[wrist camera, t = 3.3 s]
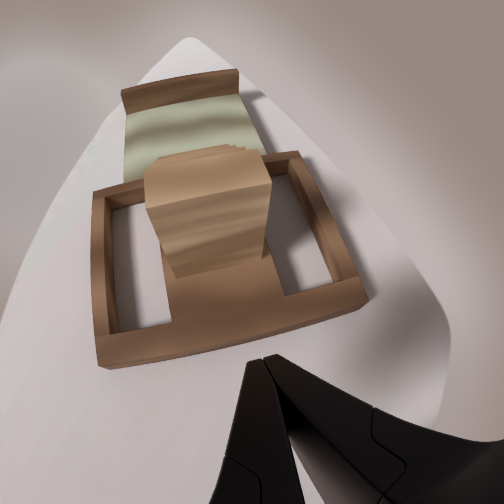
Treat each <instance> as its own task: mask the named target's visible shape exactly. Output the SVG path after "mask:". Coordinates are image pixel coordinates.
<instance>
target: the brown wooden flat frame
mask: <svg viewBox="0 0 504 504" xmlns="http://www.w3.org/2000/svg"><path fill="white" fill-rule="evenodd" d="M121 97H122V101H123V104H124V108H125V111H126V115H127V116H126V130H125V148H124V183H123V184H119V185H116V186H112V187H108V188H105V189H101V190H98V191H94V192H93V200H92V216H91V252H90V260H91V296H92V313H93V325H94V336H95V345H96V353H97V361H98V366H100V367H103V368H106V369H109V370H111V369H118V368H125V367H131V366H137V365H143V364H149V363H155V362H160V361H166V360H171V359H176V358H181V357H186V356H191V355H196V354H200V353H205V352H210V351H214V350H218V349H223V348H227V347H231V346H235V345H240V344H244V343H248V342H252V341H255V340H259V339H263V338H267V337H271V336H274V335H278V334H282V333H285V332H289V331H292V330H296V329H299V328H302V327H306V326H309V325H313V324H316V323H319V322H322V321H326V320H329V319H332V318H335V317H338V316H341V315H344V314H347V313H350V312H353V311H356V310H359V309H360V308H361V307H363V306H364V305H365V304H366V303H367V302H368V301H369V299H368V297H367V294H366V292H365V289H364V287H363V285H362V282H361V280H360V277H359V275H358V273H357V270H356V268H355V266H354V263H353V261H352V259H351V257H350V254H349V252H348V250H347V248H346V245H345V243H344V241H343V239H342V237H341V235H340V232H339V230H338V228H337V226H336V224H335V222H334V220H333V218H332V215H331V213H330V211H329V209H328V207H327V205H326V203H325V201H324V199H323V197H322V195H321V193H320V191H319V189H318V187H317V185H316V183H315V181H314V179H313V178H312V176H311V174H310V172H309V170H308V168H307V166H306V164H305V162H304V161H303V159H302V157H301V155H300V153H299V151H298V150H297V151H289V152H281V153H274V154H267V153H266V151H265V149H264V146H263V144H262V142H261V140H260V138H259V136H258V133H257V131H256V129H255V127H254V125H253V123H252V121H251V118H250V116H249V114H248V112H247V110H246V108H245V106H244V104H243V102H242V100H241V98H240V96H239V71H238V70H237V69H228V70H219V71H212V72H204V73H198V74H192V75H186V76H180V77H175V78H169V79H164V80H160V81H155V82H151V83H146V84H142V85H138V86H134V87H130V88H126V89H122V90H121ZM224 144H229V146H231V145H236V147H244V146H245V148H246V150H251V149H258V150H259V153H260V155H261V157H262V160H263V162H264V164H265V167H266V169H267V171H268V174H269V176H270V177H272V176H278V175H284V174H287V176H288V178H289V180H290V182H291V184H292V186H293V189H294V191H295V193H296V195H297V197H298V200H299V202H300V204H301V206H302V209H303V211H304V213H305V215H306V218H307V220H308V222H309V225H310V227H311V229H312V231H313V234H314V236H315V239H316V241H317V243H318V246H319V248H320V250H321V253H322V255H323V258H324V260H325V263H326V265H327V267H328V270H329V272H330V275H331V277H332V280H333V282H334V283H332V284H328V285H325V286H321V287H318V288H314V289H310V290H307V291H303V292H299V293H296V294H292V295H288V296H285V294H284V291H283V288H282V285H281V282H280V279H279V276H278V273H277V271H276V268H275V265H274V262H273V259H272V256H271V253H270V250H269V247H268V244H267V241H266V238H265V237H264V244H263V251H262V257H261V260H258V261H254V262H249V263H245V264H240V265H236V266H231V267H227V268H223V269H218V270H214V271H209V272H205V273H200V274H196V275H191V276H187V277H182V278H178V279H176V277H175V275H174V273H173V271H172V268H171V266H170V264H169V262H168V260H167V257H166V255H165V253H164V251H163V248H162V246H161V244H160V250H161V257H162V264H163V271H164V278H165V284H166V290H167V296H168V302H169V308H170V313H171V319H172V323H169V324H164V325H159V326H154V327H149V328H144V329H139V330H133V331H128V332H123V333H119V327H118V319H117V309H116V299H115V287H114V272H113V252H112V210H115V209H119V208H123V207H127V206H131V205H135V204H139V203H143V202H145V192H144V173H143V171H144V170H148V169H150V165H151V164H154V161H155V160H157V158H158V157H163V156H167V155H172V154H176V153H181V152H186V151H191V150H196V149H201V148H207V147H212V146H218V145H224Z"/></svg>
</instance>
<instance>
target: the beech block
mask: <svg viewBox="0 0 504 504" xmlns="http://www.w3.org/2000/svg"><path fill="white" fill-rule="evenodd" d="M143 173H144V192H145V207H146V211H147V213H148V216H149V218H150V220H151V223H152V225H153V228H154V230H155V232H156V235H157V237H158V239H159V242H160V244H161V246H162V248H163V251H164V253H165V255H166V257H167V260H168V262H169V264H170V266H171V268H172V271H173V273H174V275H175V277H176V279H178V278H182V277H187V276H191V275H196V274H200V273H205V272H209V271H214V270H218V269H223V268H227V267H231V266H236V265H240V264H245V263H249V262H254V261H258V260H261V257H262V251H263V244H264V237H265V230H266V224H267V217H268V210H269V203H270V196H271V189H272V181H271V178H270V176H269V174H268V171H267V169H266V167H265V164H264V162H263V160H262V157H261V155H260V153H259V150H258V149H251V150H246V148H245V146H244V147H236V145H231V146H229V144H224V145H218V146H212V147H207V148H201V149H196V150H191V151H186V152H181V153H176V154H172V155H167V156H163V157H158V158H157V160H155V161H154V164H151V165H150V169H148V170H144V171H143Z"/></svg>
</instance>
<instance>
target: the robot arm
mask: <svg viewBox="0 0 504 504" xmlns="http://www.w3.org/2000/svg"><path fill="white" fill-rule="evenodd" d="M290 443H291V444H290ZM291 445H292V447H293V449H294V451H295V452H296V454H297V456H298V458H299V460H300V461H301V463H302V465H303V467H304V468H305V470H306V472H307V474H308V475H309V477H310V479H311V481H312V482H313V484H314V486H315V487H316V489H317V491H318V493H319V494H320V496H321V498H322V499H323V501H324V503H325V504H504V439H503V440H499V441H492V442H478V441H471V440H467V439H462V438H458V437H455V436H451V435H448V434H444V433H441V432H437V431H434V430H430V429H427V428H424V427H421V426H418V425H415V424H412V423H410V422H407V421H404V420H402V419H400V418H397V417H395V416H393V415H390V414H388V413H386V412H384V411H382V410H380V409H378V408H376V407H374V408H373V406H372V405H370V404H368V403H366V402H364V401H362V400H360V399H358V398H356V397H354V396H352V395H350V394H348V393H346V392H344V391H343V390H341V389H339V388H337V387H335V386H333V385H331V384H329V383H328V382H326V381H324V380H322V379H320V378H319V377H317V376H315V375H313V374H311V373H310V372H308V371H306V370H304V369H303V368H301V367H299V366H297V365H296V364H294V363H292V362H290V361H289V360H287V359H285V358H284V357H282V356H280V355H278V354H275V355H271V356H267V357H264V358H263V360H262V359H256V360H252V361H249V362H247V364H246V368H245V372H244V377H243V381H242V385H241V389H240V394H239V398H238V402H237V406H236V410H235V414H234V419H233V423H232V427H231V431H230V435H229V439H228V443H227V447H226V451H225V457H224V458H223V462H222V466H221V470H220V473H219V477H218V480H217V483H216V487H215V489H214V492H213V494H212V497H211V499H210V502H209V504H305V500H304V496H303V492H302V488H301V484H300V480H299V476H298V472H297V468H296V464H295V460H294V456H293V452H292V448H291Z"/></svg>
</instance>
